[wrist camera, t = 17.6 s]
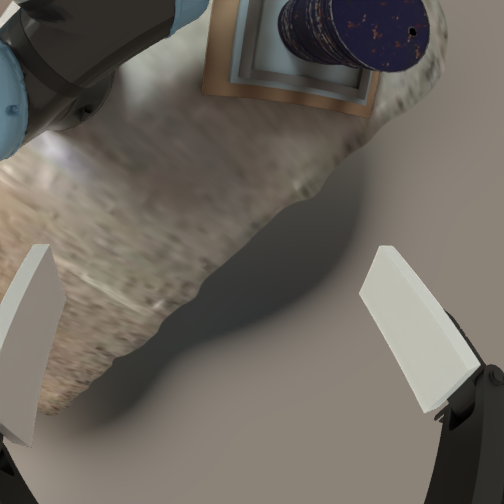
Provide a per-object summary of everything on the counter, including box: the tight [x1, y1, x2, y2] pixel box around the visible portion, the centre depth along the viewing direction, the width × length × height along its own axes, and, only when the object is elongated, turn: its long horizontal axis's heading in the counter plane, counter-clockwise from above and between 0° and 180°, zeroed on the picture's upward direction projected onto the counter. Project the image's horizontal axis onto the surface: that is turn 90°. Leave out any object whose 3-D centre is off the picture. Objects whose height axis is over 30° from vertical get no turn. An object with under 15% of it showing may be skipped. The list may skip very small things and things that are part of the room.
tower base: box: [201, 0, 379, 119], centre depth 30 cm, size 24×22×8 cm
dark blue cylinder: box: [277, 0, 430, 73], centre depth 22 cm, size 10×10×15 cm
